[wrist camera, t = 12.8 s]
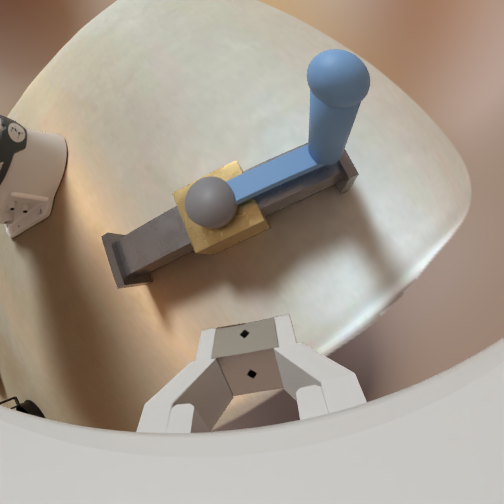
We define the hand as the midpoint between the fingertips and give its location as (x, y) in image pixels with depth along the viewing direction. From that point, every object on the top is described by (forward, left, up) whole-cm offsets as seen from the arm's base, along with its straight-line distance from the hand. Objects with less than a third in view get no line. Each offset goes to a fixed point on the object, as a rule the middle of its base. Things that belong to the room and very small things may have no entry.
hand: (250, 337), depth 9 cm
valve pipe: (-2, +9, -20) cm, 23 cm away
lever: (+3, +9, -15) cm, 18 cm away
